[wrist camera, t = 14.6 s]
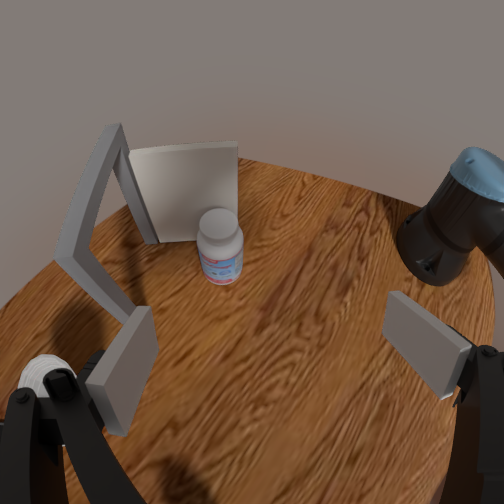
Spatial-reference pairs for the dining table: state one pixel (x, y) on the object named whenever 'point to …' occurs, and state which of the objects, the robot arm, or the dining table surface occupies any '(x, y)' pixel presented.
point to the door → (186, 184)
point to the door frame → (84, 216)
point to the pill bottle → (220, 246)
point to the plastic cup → (41, 373)
